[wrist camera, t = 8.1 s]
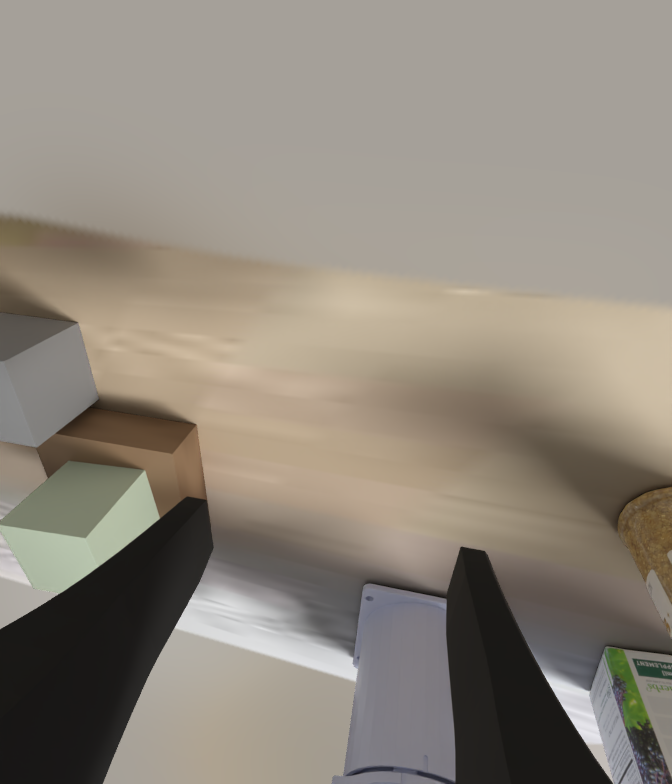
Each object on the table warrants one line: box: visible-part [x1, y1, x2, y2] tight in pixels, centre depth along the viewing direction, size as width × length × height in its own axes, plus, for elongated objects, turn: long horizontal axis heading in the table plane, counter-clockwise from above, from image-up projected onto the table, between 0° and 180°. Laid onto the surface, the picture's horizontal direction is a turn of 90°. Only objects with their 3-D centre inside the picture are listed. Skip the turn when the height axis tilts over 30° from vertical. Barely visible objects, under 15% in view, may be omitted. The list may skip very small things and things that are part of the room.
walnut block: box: [36, 407, 211, 527], centre depth 25 cm, size 8×8×3 cm
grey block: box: [0, 312, 99, 447], centre depth 21 cm, size 4×4×4 cm
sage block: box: [0, 461, 160, 593], centre depth 22 cm, size 4×4×4 cm
